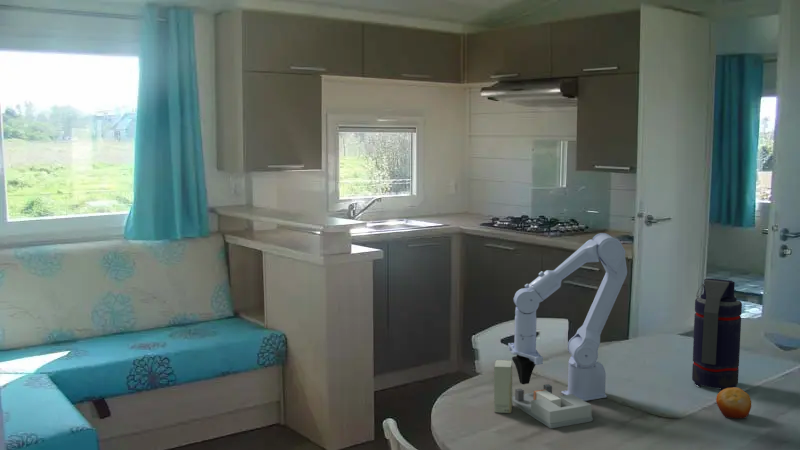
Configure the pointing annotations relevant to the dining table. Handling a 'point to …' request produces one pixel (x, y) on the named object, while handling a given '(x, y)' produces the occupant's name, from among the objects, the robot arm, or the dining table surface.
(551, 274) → the robot arm
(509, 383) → the skincare box
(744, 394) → the fruit
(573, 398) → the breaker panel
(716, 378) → the grenade
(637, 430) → the dining table surface
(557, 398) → the button
